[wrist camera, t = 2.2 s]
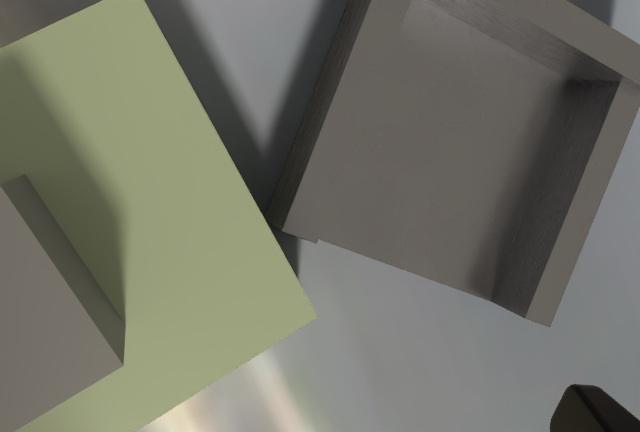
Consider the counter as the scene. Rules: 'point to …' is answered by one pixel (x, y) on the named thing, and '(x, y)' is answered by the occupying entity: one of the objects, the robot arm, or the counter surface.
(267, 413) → the counter surface
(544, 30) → the grey square tray
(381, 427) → the counter surface
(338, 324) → the counter surface
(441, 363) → the counter surface
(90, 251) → the deck plate
